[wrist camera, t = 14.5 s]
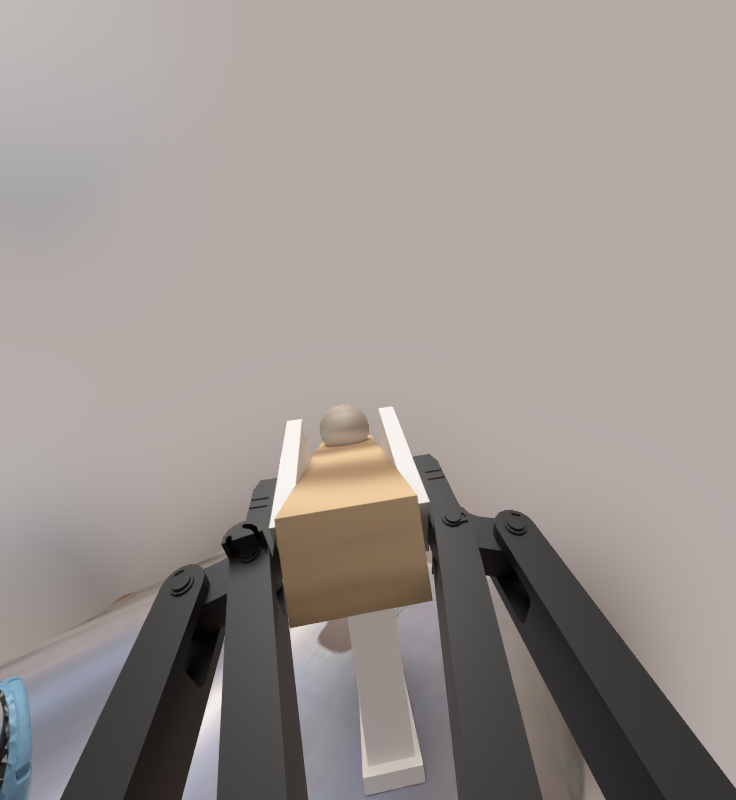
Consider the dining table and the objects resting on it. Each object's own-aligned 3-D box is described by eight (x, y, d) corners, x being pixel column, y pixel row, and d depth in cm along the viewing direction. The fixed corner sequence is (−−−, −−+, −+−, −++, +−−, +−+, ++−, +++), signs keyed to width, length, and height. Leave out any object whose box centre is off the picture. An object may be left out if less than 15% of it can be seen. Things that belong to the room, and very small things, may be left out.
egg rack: (331, 462, 32) (323, 407, 32) (369, 456, 33) (361, 401, 33) (289, 628, 9) (259, 417, 9) (432, 600, 9) (403, 396, 9)
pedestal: (359, 679, 50) (333, 494, 50) (402, 670, 51) (376, 487, 51) (365, 795, 35) (329, 533, 35) (425, 782, 36) (389, 523, 36)
